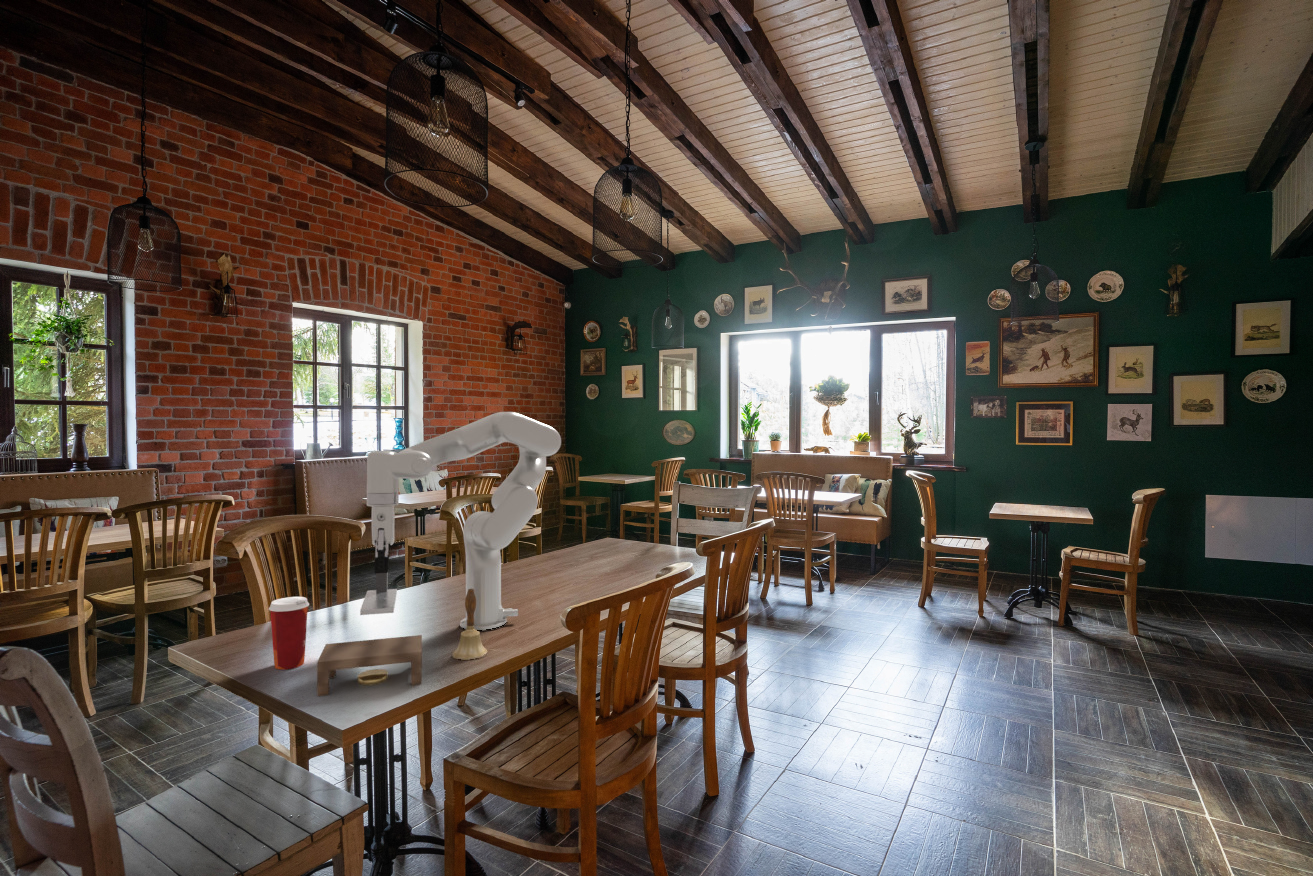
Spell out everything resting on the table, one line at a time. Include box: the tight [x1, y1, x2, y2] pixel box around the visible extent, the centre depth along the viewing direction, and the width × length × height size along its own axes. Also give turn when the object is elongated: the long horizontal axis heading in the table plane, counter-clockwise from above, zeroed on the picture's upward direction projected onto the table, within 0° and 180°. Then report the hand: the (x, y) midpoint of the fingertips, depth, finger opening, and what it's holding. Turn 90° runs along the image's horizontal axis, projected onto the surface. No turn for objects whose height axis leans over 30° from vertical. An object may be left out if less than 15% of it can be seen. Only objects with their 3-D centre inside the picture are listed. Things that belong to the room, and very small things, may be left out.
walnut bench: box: [316, 634, 423, 697], centre depth 143 cm, size 20×12×7 cm, turn 109°
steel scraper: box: [359, 543, 398, 616], centre depth 159 cm, size 7×19×15 cm, turn 20°
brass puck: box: [357, 668, 389, 686], centre depth 143 cm, size 6×6×2 cm
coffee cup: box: [268, 596, 310, 671], centre depth 151 cm, size 8×8×15 cm
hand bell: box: [451, 589, 488, 661], centre depth 159 cm, size 8×8×16 cm
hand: (381, 571), depth 167 cm, fingers closed on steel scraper, 2 cm apart
